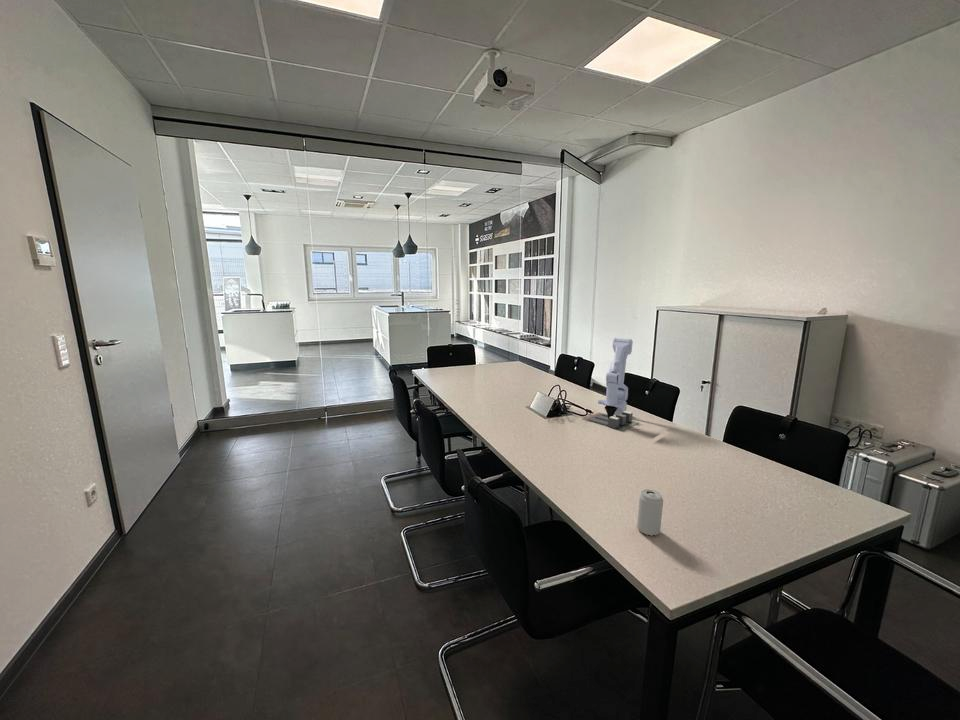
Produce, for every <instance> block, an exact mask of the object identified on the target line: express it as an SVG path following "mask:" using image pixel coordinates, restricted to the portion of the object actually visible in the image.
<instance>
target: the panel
mask: <svg viewBox="0 0 960 720" xmlns="http://www.w3.org/2000/svg"><path fill="white" fill-rule="evenodd" d="M613 417H616V415H615V416H613ZM581 420H583V421H586V422H590V423H592V424H593V423H594V424H596V425H600V426H604V427H607V428H610V429H615V430H618V431H622V432H624V431H627V430H629V429H631V428H633V427H635V426H637V425H639V424H640V422H637V421H633V420H632V421H630V422H626V424H624V425H620V424H619V427H617V428H613V427H609V426H608V422H609V420H608V415H607V413H602V412H597V413H595V414H594V413H593V414H592V415H589V416H586V417H584V418H582V419H581Z"/></svg>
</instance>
